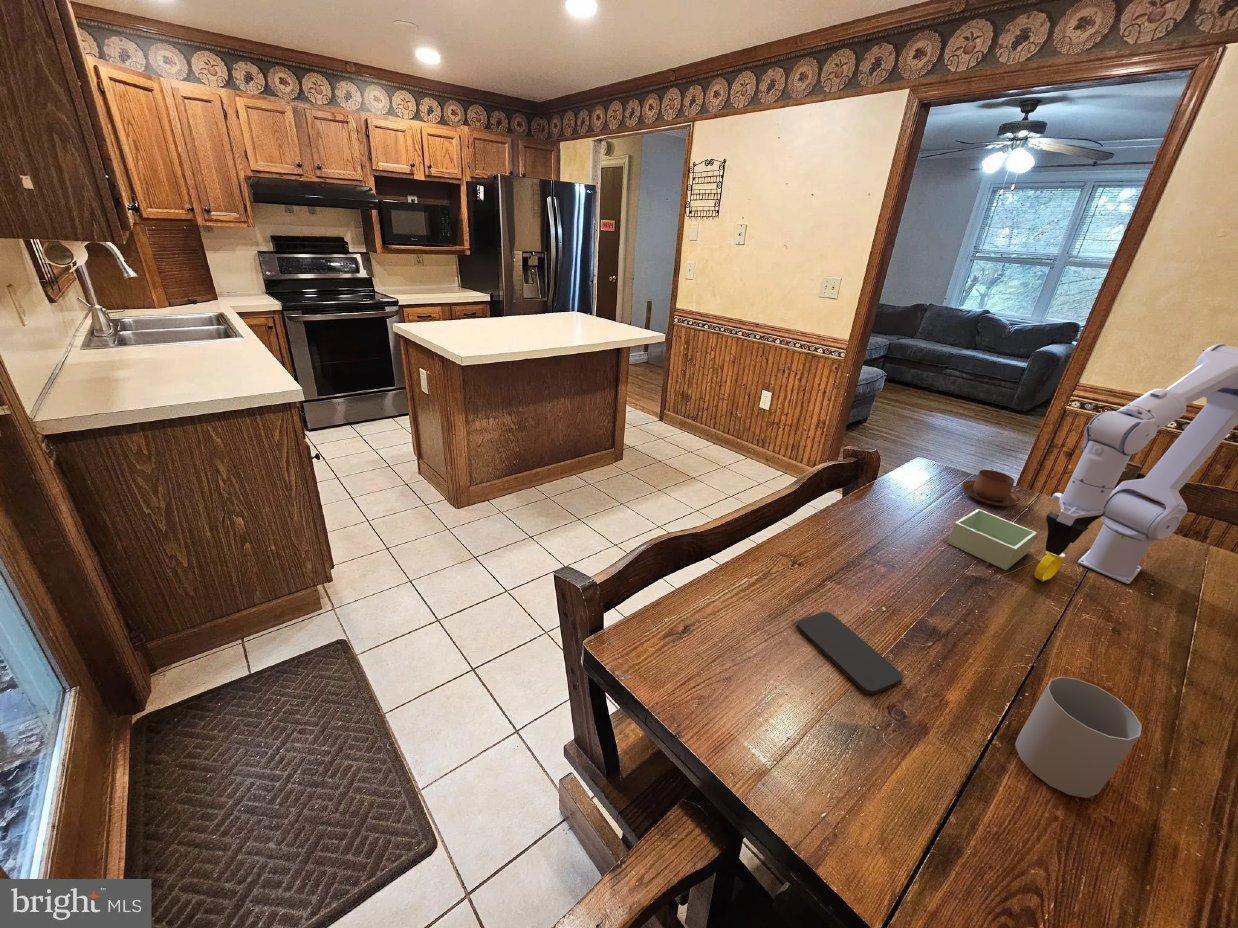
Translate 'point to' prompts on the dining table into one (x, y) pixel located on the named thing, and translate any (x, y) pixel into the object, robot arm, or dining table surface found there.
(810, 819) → the dining table surface
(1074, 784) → the cup
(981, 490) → the cup and saucer
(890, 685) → the phone
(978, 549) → the bin
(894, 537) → the dining table surface
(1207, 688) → the dining table surface
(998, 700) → the dining table surface
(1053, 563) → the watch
